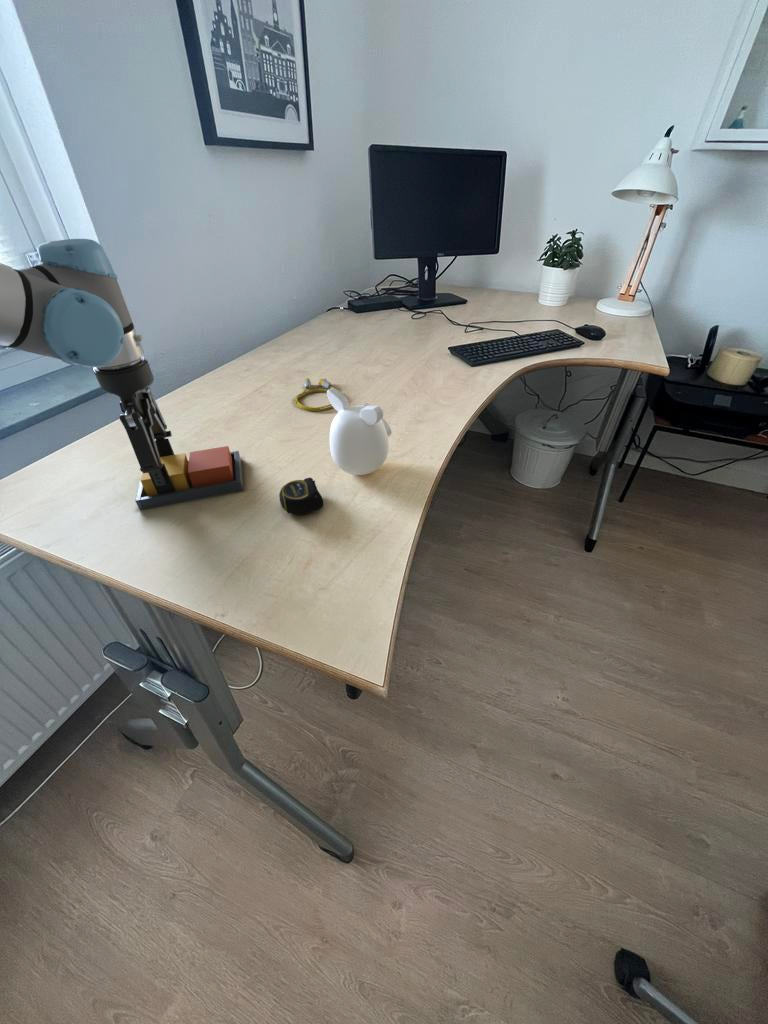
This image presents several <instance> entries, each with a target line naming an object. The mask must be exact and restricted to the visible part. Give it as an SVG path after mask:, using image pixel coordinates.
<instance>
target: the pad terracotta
mask: <svg viewBox="0 0 768 1024" xmlns="http://www.w3.org/2000/svg"><path fill="white" fill-rule="evenodd" d="M230 452H231V450H230V448H229V445H225V446H220V447H213V448H208V449H201V450H194V451H190V452H189V455H188V456H189V457H188V459H189V466H188V474H189V477H190V479H191V482H192V485H193V487H194V488H197V487H202V486H208V485H213V484H219V483H224V482H230V481H234V466H233V460H232V457H231V454H230Z"/></svg>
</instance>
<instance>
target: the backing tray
mask: <svg viewBox="0 0 768 1024" xmlns="http://www.w3.org/2000/svg"><path fill="white" fill-rule="evenodd" d="M230 454H231V457H232V460H233V466H234V481H230V482H224V483H219V484H213V485H208V486H202V487H197V488H194V487H193V485H192V482H191V485H190V489H185V490H180V491H174V492H169V493H163V494H158V495H152V496H147V494H146V492H145V490H144V487H143V485H142V483H141V481H140V480H141V478H140V479H139V484H138V487H137V493H136V496H135V503H136V505H137V507H138V510H139V511H141V510H147V509H151V508H152V509H153V508H156V507H163V506H169V505H173V504H179V503H185V502H190V501H195V500H200V499H201V500H202V499H205V498H211V497H216V496H223V495H227V494H233V493H238V492H243V491H244V482H243V481H244V480H243V471H242V470H243V469H242V458H241V456H240V451H239V450H236V451H235V450H234V451H230ZM187 459H188V462H189V458H187ZM141 476H142V473H141V475H140V477H141Z"/></svg>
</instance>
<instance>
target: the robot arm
mask: <svg viewBox="0 0 768 1024" xmlns="http://www.w3.org/2000/svg"><path fill="white" fill-rule="evenodd" d="M37 254H38V257H39V262H40V263H39V264H36V265H34V266H30V267H27V268H20V269H16V268H13V267H12V266H11V265H7V264H4V263H2V262H0V351H1V350H4V351H7V350H9V348H10V349H13V350H17V351H21V352H22V351H23V352H27V353H30V354H35V355H39V356H43V357H44V356H45V357H48V358H52V359H57V360H60V361H61V362H63V363H65V364H69V365H72V366H77V367H84V368H92V371H93V374H94V375H95V378H96V380H97V382H98V384H99V386H100V389H101V390H102V391H103V392H104V393H106V394H109V395H115V396H117V397H118V398H119V399H120V401H119V407H120V410H121V412H122V414H120V415H119V421H120V422H121V424H122V426H123V428H124V430H125V432H126V435H127V437H128V439H129V442H130V444H131V447H132V449H133V452H134V455H135V457H136V459H137V462H138V465H139V467H140V468H139V471H140V472H141V473H142V472H143V473H149V476H150V478H151V480H152V482H153V484H154V487H155V489H156V491H157V493H158V494H163V493H169V492H174V491H175V488H174V486H173V484H172V481H171V479H170V476H169V474H168V472H167V469H166V467H165V464H162V463H161V459H160V457H164V456H170V455H176V454H175V452H174V450H173V446H172V445H171V442H170V439H169V438H172V436H173V435H172V431H171V430H167V429H168V425H167V423H166V421H165V419H164V417H163V414H162V412H161V410H160V407H159V406H158V404H157V401H156V399H155V396H154V394H153V392H152V390H151V389H152V388H151V385H152V384H153V383H154V380H155V377H154V375H153V372H152V368H151V366H150V363H149V361H148V359H147V358H146V357H145V356H144V353H145V351H144V349H143V346H142V343H141V342H143V341H144V337H143V336H142V334H137V332H136V328H135V325H134V323H133V320H132V319H133V318H132V317H131V314H130V311H129V308H128V306H127V303H126V301H125V298H124V294H123V293H122V290H121V287H120V285H119V282H118V276H117V274H116V272H115V270H114V268H113V266H112V263H111V261H110V259H109V257H108V255H107V253H106V251H105V249H104V248H103V246H102V245H101V244H100V243H99V242H97V241H96V240H93V239H89V238H68V239H67V238H65V239H58V240H51V241H48V242H44V243H41V244H39V245H38V246H37Z"/></svg>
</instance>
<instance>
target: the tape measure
mask: <svg viewBox="0 0 768 1024" xmlns="http://www.w3.org/2000/svg"><path fill="white" fill-rule="evenodd" d="M317 487H318V486H317V485H316V480H314V478H312V477H306V478H304V479H296V480H295V479H294V480H291V481H289V482H287V483H286V484H283V486H282V487H281V488H280V491H279V494H278V497H279V498H278V499H279V503H280V506H281V508H282V509H283V510H284V511H285V512H286V513H287V514H290V515H293V516H305V515H307V514H311V513H312V512H314V511H315V512H316V511H319V510H321V509H322V508H323V507H324V505H325V504H324V498H323V496H322V495H321V493H320V492H319V490H318V488H317Z"/></svg>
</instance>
